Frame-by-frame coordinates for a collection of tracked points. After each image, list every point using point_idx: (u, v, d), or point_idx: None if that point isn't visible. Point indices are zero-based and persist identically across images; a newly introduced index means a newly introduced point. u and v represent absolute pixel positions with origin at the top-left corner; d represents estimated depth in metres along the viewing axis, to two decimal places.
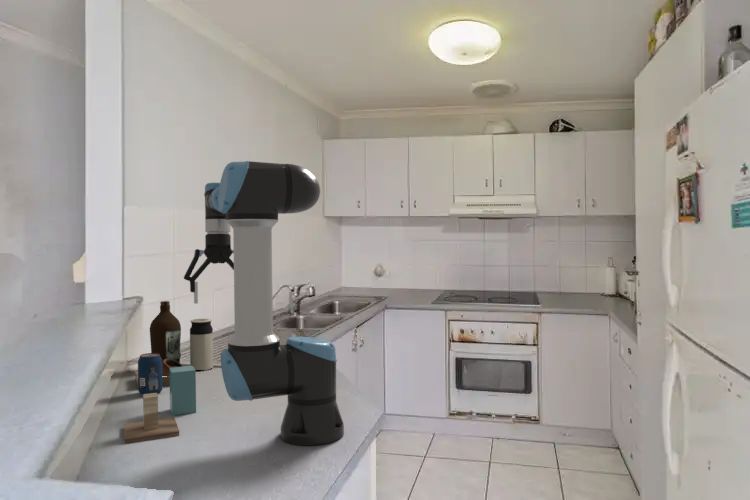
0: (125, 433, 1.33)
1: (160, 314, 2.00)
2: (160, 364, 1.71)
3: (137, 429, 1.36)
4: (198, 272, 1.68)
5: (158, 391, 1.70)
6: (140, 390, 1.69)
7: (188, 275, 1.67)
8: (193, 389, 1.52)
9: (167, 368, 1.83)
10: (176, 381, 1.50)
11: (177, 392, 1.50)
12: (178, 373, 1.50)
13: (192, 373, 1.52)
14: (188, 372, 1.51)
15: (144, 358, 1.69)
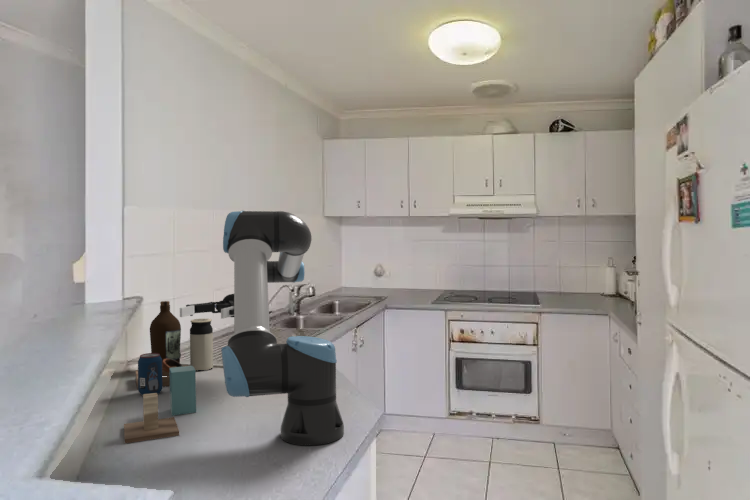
0: (125, 433, 1.33)
1: (160, 314, 2.00)
2: (160, 364, 1.71)
3: (137, 429, 1.36)
4: (200, 304, 1.73)
5: (158, 391, 1.70)
6: (140, 390, 1.69)
7: None
8: (193, 389, 1.52)
9: (167, 367, 1.84)
10: (176, 381, 1.50)
11: (177, 392, 1.50)
12: (178, 373, 1.50)
13: (192, 373, 1.52)
14: (188, 372, 1.51)
15: (144, 358, 1.69)
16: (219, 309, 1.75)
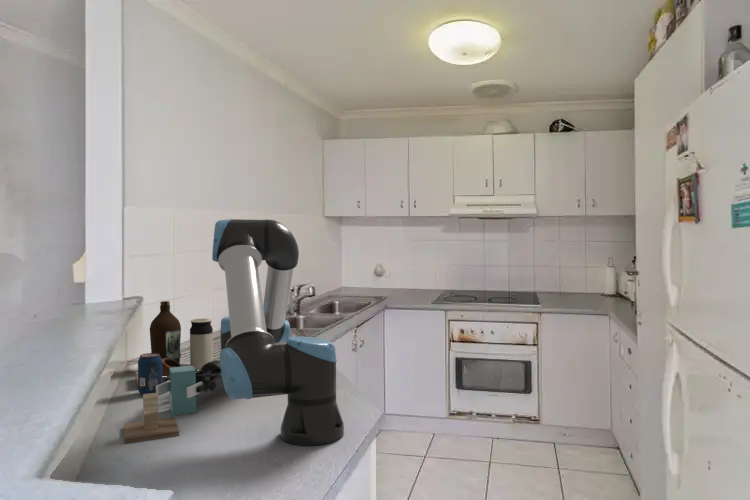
0: (125, 433, 1.33)
1: (160, 314, 2.00)
2: (160, 364, 1.71)
3: (137, 429, 1.36)
4: None
5: None
6: (140, 390, 1.69)
7: (169, 378, 1.59)
8: None
9: (166, 367, 1.85)
10: (176, 381, 1.50)
11: (177, 392, 1.50)
12: (178, 373, 1.50)
13: (192, 373, 1.52)
14: (188, 372, 1.51)
15: (144, 358, 1.68)
16: (197, 381, 1.62)
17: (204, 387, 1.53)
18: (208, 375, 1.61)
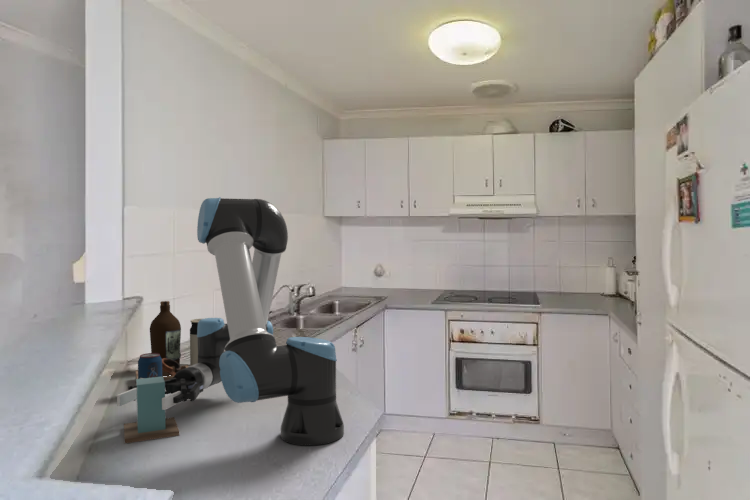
0: (125, 433, 1.33)
1: (160, 314, 2.00)
2: (160, 364, 1.71)
3: (137, 429, 1.36)
4: None
5: None
6: None
7: (134, 385, 1.44)
8: None
9: (165, 367, 1.85)
10: (142, 394, 1.33)
11: (144, 407, 1.34)
12: (145, 385, 1.34)
13: (160, 386, 1.35)
14: (156, 384, 1.35)
15: (144, 358, 1.68)
16: (168, 390, 1.46)
17: (182, 397, 1.37)
18: (183, 384, 1.45)
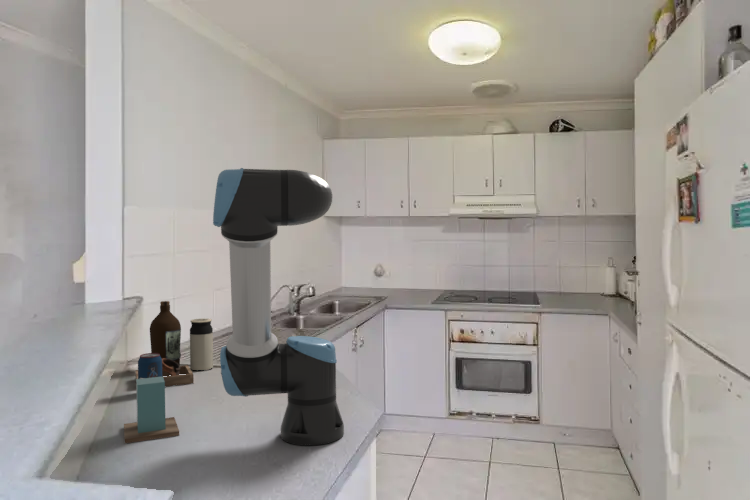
0: (125, 433, 1.33)
1: (160, 314, 2.00)
2: (160, 364, 1.71)
3: (137, 429, 1.36)
4: None
5: None
6: None
7: None
8: (162, 403, 1.35)
9: (165, 367, 1.85)
10: (142, 394, 1.33)
11: (144, 407, 1.34)
12: (145, 385, 1.34)
13: (160, 386, 1.35)
14: (156, 384, 1.35)
15: (144, 358, 1.68)
16: None
17: None
18: None
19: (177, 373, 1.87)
